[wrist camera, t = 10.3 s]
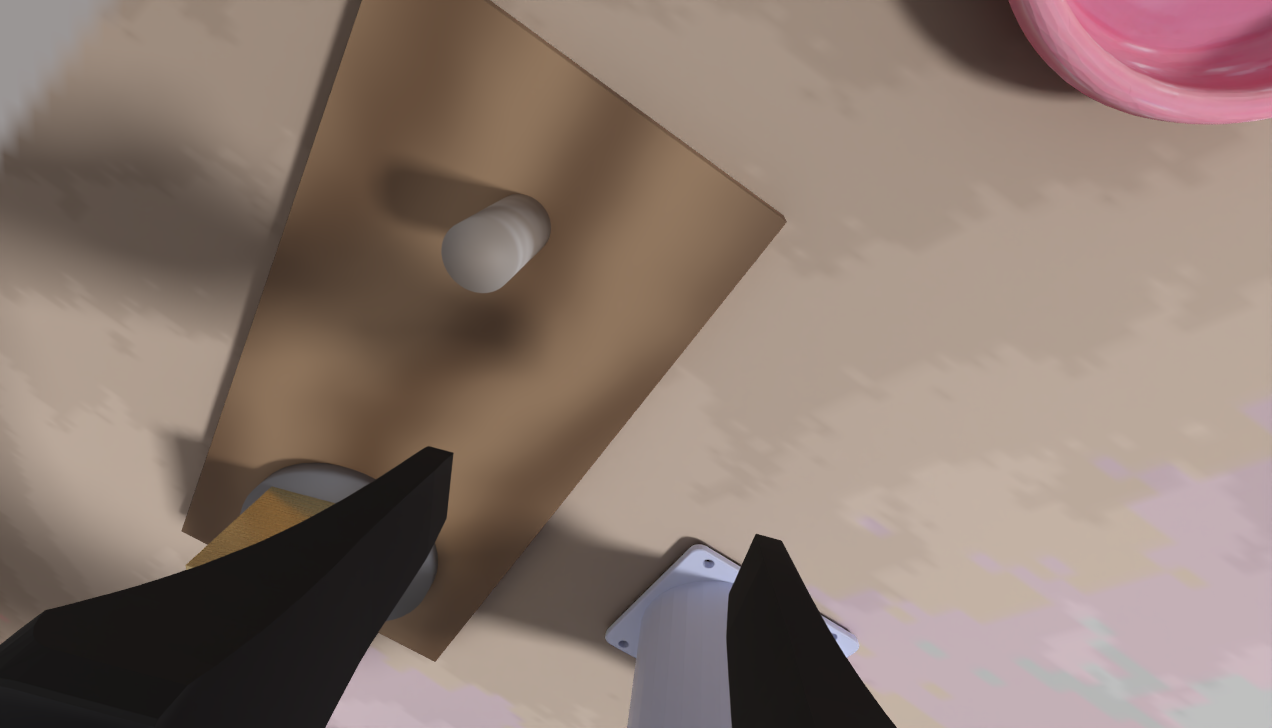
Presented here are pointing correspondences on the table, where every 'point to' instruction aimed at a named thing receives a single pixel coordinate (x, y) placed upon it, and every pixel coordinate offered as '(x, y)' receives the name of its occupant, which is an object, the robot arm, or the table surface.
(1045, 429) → the table surface
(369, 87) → the board
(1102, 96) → the pink ring
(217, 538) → the collar
